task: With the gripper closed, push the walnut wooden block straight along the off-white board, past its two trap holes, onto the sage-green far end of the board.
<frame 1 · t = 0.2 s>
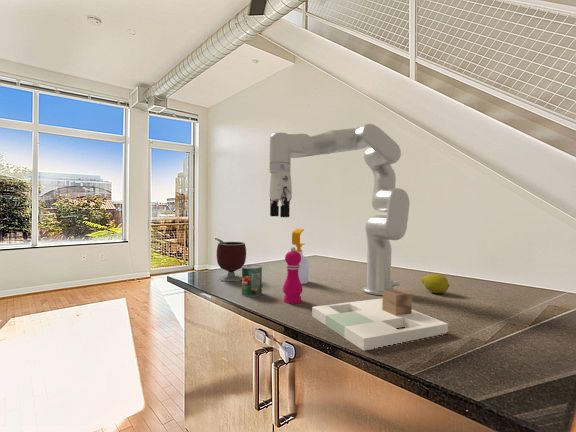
hand: (279, 216, 117), 31 cm above the counter, tool pointing down, fingers open, 9 cm apart
lemon: (435, 293, 135), on the counter
soap bottle: (298, 282, 152), on the counter
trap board: (375, 324, 97), on the counter
walnut block: (396, 311, 101), point 3 cm above the counter, touching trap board
canned tomato: (251, 294, 130), on the counter
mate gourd: (229, 279, 156), on the counter
pepper mill: (292, 301, 121), on the counter
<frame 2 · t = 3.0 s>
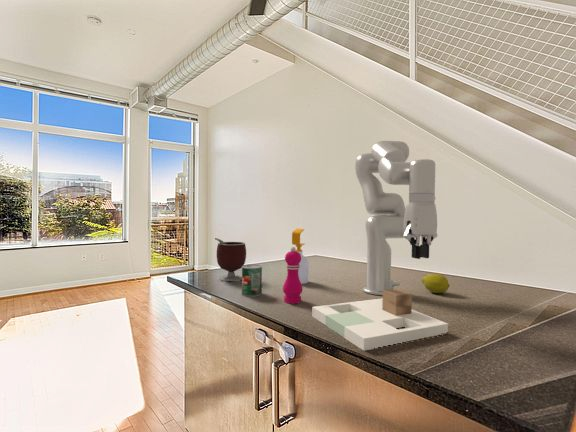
hand: (420, 257, 104), 19 cm above the counter, tool pointing down, fingers closed
nothing on the counter moved.
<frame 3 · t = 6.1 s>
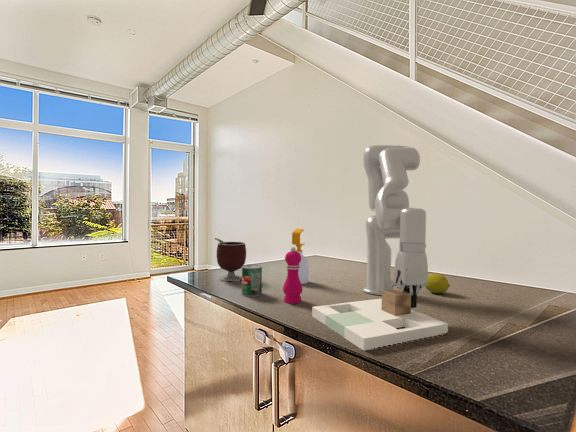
hand: (410, 306, 103), 4 cm above the counter, tool pointing down, fingers closed
walnut block: (395, 311, 100), point 3 cm above the counter, touching gripper, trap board
everything else where it was.
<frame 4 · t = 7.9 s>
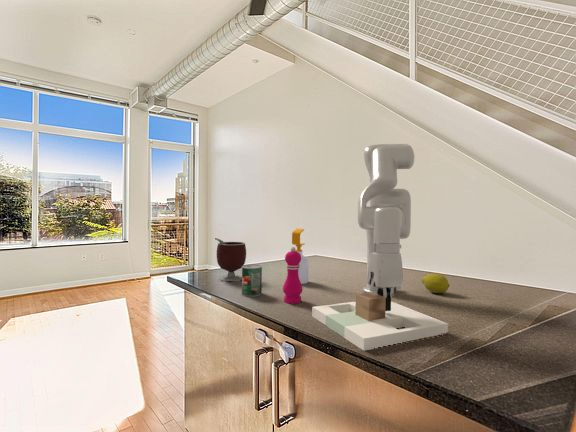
hand: (385, 309, 98), 4 cm above the counter, tool pointing down, fingers closed
walnut block: (370, 316, 96), point 3 cm above the counter, touching gripper, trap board
everything else where it was.
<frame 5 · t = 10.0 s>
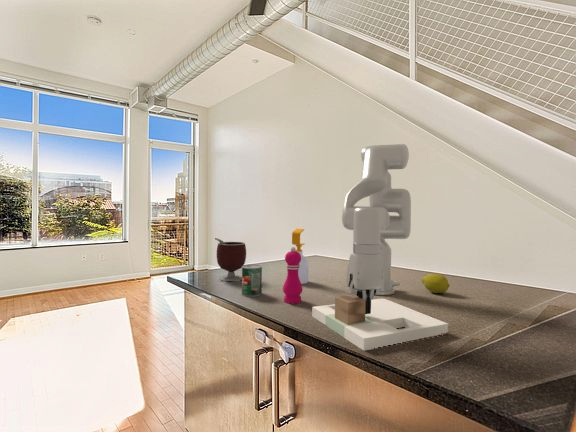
hand: (365, 312, 96), 4 cm above the counter, tool pointing down, fingers closed
walnut block: (349, 319, 93), point 3 cm above the counter, touching gripper, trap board
everything else where it was.
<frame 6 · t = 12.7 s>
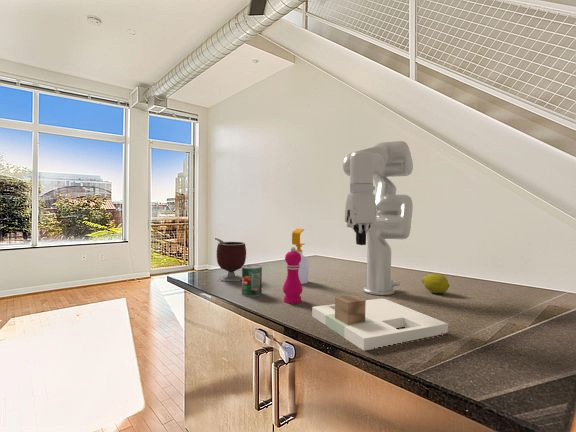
hand: (360, 244, 110), 22 cm above the counter, tool pointing down, fingers closed
walnut block: (349, 319, 93), point 3 cm above the counter, touching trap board
everything else where it was.
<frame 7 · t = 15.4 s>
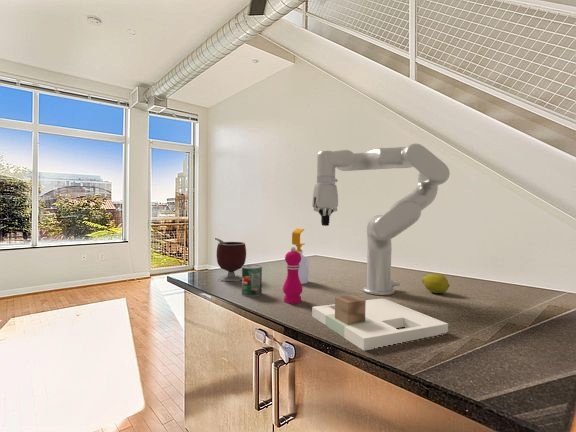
hand: (325, 225, 137), 27 cm above the counter, tool pointing down, fingers closed
nothing on the counter moved.
at the end: walnut block inside the target area on the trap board (1.2 cm from its centre), point 3.0 cm above the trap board's base; walnut block tilted 0°; walnut block touching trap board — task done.
